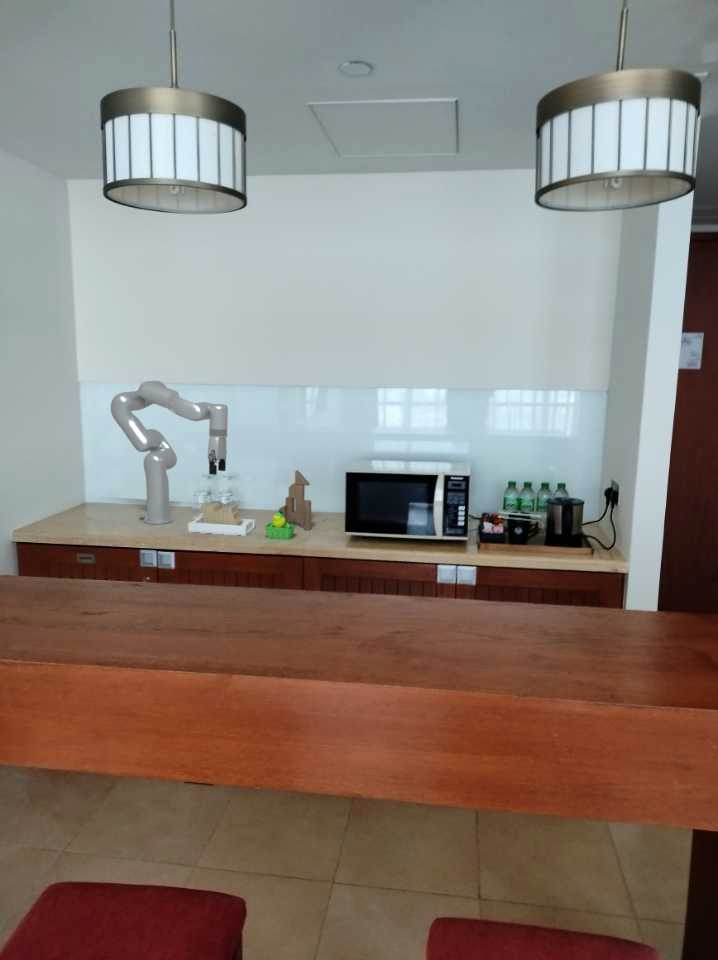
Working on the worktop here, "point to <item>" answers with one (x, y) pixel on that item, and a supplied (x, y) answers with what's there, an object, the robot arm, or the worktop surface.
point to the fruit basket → (279, 528)
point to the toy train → (221, 514)
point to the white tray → (222, 527)
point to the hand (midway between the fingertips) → (217, 472)
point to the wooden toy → (297, 503)
